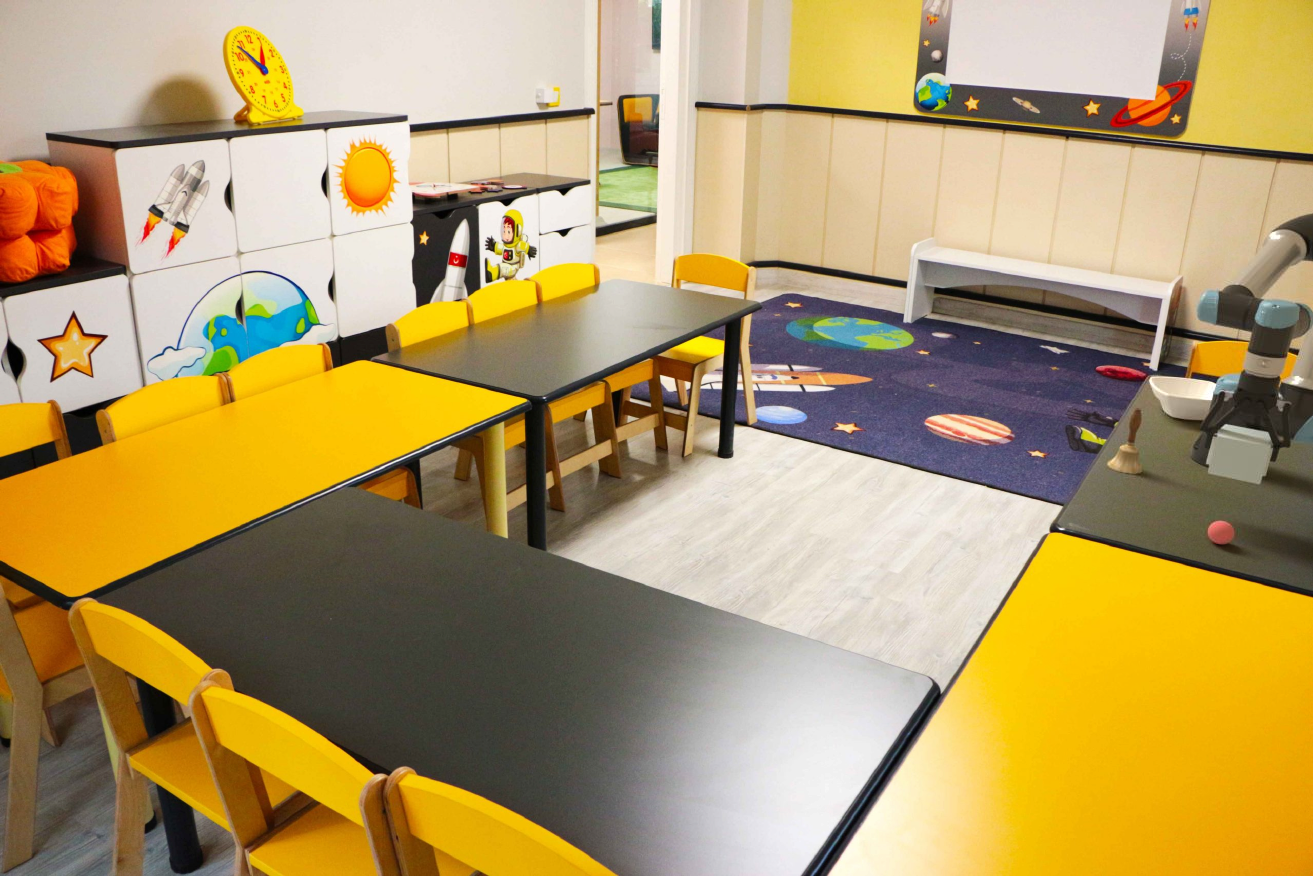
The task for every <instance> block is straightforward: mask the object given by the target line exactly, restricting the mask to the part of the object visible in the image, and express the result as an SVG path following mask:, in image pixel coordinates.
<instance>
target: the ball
mask: <svg viewBox="0 0 1313 876" xmlns="http://www.w3.org/2000/svg"><path fill="white" fill-rule="evenodd" d="M1207 535H1208V538H1209V539H1210V540H1211V541H1212V542H1213V543H1214V544H1218V545H1227V544H1229V543H1231V542H1232V540H1233V539H1234V538H1235V529H1234V527H1233V526H1232V525H1231V523H1229V522H1227V521H1224V520H1216V521H1214V522H1212V523H1211V524H1210V525H1209V526H1208V529H1207Z"/></svg>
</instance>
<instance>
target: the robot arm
mask: <svg viewBox="0 0 1313 876" xmlns="http://www.w3.org/2000/svg"><path fill="white" fill-rule="evenodd" d="M1302 261H1304V262H1305V261H1306V262H1312V263H1313V212H1312V213H1307V214H1304V215H1299V216H1297V217H1294V218H1292V219H1289V220H1287V221H1285V222H1283V223H1282V224H1280V225H1278V226H1277V227H1275V228H1274V229H1273V230H1272V231H1270V233H1268V235H1266V237H1265V238H1264V240H1263V242H1262V247H1261V248H1260V249H1259V251H1258V252H1257V253H1256V254H1255V255H1254V256H1253V257H1252V258H1251V259H1250V260H1249V261H1248V263H1246V264H1245V266H1243V268H1241V269H1240V271H1239V272H1238V273H1237V274H1236V275H1235V276H1234V278H1232V279H1231V280H1230V281H1229V283H1228V284H1227V285H1226V286H1225V287H1224V288H1223V289H1222V290H1219V289H1206V290H1205V291H1204V292H1203V293H1202V294H1201V295H1200V298H1199V300H1198V303H1197V308H1196V317H1197V319H1198V320H1199V321H1200V322H1203V323H1208V324H1210V325H1213V326H1220V327H1225V328H1229V329H1233V330H1234V329H1235V330H1239V331H1240V330H1241V331H1245V332H1249V333H1250V338H1249V342H1248V346H1247V349H1246V352H1245V357H1244V360H1243V365H1242V368H1243V370H1241V372H1240V373H1237V372H1236V373H1228V374H1224V375H1222V376H1220V377H1219V378H1218V379H1217V380H1216V383H1215V384H1216V386H1215V390H1214V391H1213V397H1212V401H1211V405H1210V409H1209V413H1208V415H1207V416H1206V418H1205V419H1204V420H1202V422H1201V424H1200V426H1199V430H1200V431H1201V433H1200V435H1199V436H1198V437H1197V438H1196V440H1195V442H1194V443H1193V445H1192V447H1191V449H1190V453H1189V454H1190V455H1189V457H1190V458H1191V459H1192V460H1193V461H1194V462H1196V463H1198V464H1200V465H1202V466H1205V467H1208V468H1209V465H1210V461H1211V458H1212V454H1213V450H1214V446H1215V442H1216V439H1217V433H1218V430H1219V429H1221V428H1222V427H1223V426H1224V425H1225V424H1227V425H1233V426H1238V427H1243V428H1248V429H1254V430H1259V431H1264V432H1268V433H1269V436H1270V438H1271V448H1270V451H1269V455H1268V458H1267V462H1266V465H1265V469H1264V472H1263V476H1262V477H1266V476H1267V472H1268V468H1269V465H1270V462H1274V463H1275V462H1276V461H1277V459H1278V454H1279V453H1280V450H1281V449H1282V448H1290V447H1291V442H1294V443H1301V444H1307V445H1313V310H1312V308H1311V307H1309V305H1307V304H1305V303H1303V302H1298V301H1297V302H1296V301H1295V302H1294V301H1289V300H1284V299H1277V298H1276V299H1275V298H1272V299H1265V298H1263V297H1264V296H1265V295H1266V294H1267V293H1268V292H1269V291H1270V289H1271V288H1272V287H1273V286H1274V285H1275V284H1276V283H1277V282H1278V280H1280V278H1282V276H1283V275H1285V273H1286V272H1287V271H1288V269H1289V268H1290V267H1293V266H1295V265H1298V264H1299V263H1301V262H1302ZM1303 336H1304V337H1303ZM1302 337H1303V339H1302V342H1301V346H1300V348H1299V351H1298V354H1297V357H1296V360H1295V363H1294V365H1293V368H1292V371H1291V374H1290V375H1289V376H1288V377H1286V378H1284V379H1281V376H1280V375H1283V373H1284V368H1285V366H1286V361H1287V358H1288V355H1289V354H1288V353H1289V350H1290V347H1291V344H1292V341H1293V340H1295V339H1297V338H1298V339H1299V338H1302ZM1280 438H1282V439H1283V440H1282V439H1281V440H1280Z"/></svg>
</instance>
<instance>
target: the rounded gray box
mask: <svg viewBox="0 0 1313 876" xmlns="http://www.w3.org/2000/svg"><path fill="white" fill-rule="evenodd" d="M1271 445H1272V441H1271V438H1270V436H1269V433H1268V432H1264V431H1259V430H1254V429H1248V428H1243V427H1238V426H1233V425H1227V424H1225V425H1224V426H1223V427H1222V428H1221V429H1219V430H1218V433H1217V439H1216V442H1215V446H1214V450H1213V454H1212V458H1211V461H1210V465H1209V467H1208V470H1207V474H1210V475H1214V476H1217V477H1223V478H1228V479H1233V480H1238V481H1242V482H1246V483H1247V482H1248V483H1250V484H1251V483H1252V484H1257V485H1261V482H1262V480H1263V477H1264V476H1263V472H1264V469H1265V465H1266V462H1267V458H1268V455H1269V451H1270V448H1271Z"/></svg>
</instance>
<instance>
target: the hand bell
mask: <svg viewBox="0 0 1313 876" xmlns="http://www.w3.org/2000/svg"><path fill="white" fill-rule="evenodd" d="M1141 411H1142V409H1141V408H1139V407H1135V408H1134V410H1133V412H1132V414H1131V415H1130V417H1129V424H1128V427H1129V434H1128V438H1127V442H1126V444H1121V445H1120V446H1119V448H1118V451H1117V453H1116V455H1115V456H1114V457H1113V458H1112V459H1110V460H1108V462H1107V463H1106V464H1107V467H1108V468H1110V469H1111V470H1113V471H1115V472H1117V471H1118V473H1121V472H1122V473H1121V474H1125V473H1129V474H1128V475H1137V474H1136V473H1140V474H1142V473H1143V471H1144V470H1143V467H1142V466H1141V464H1140V459H1139V451H1140V450H1139V448H1137V447H1136V446H1135V441H1136V438H1137V437H1136V436H1137V432H1138V430H1139V428H1140V427H1141V424H1142V417H1143V416H1142V412H1141ZM1141 472H1142V473H1141Z"/></svg>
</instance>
